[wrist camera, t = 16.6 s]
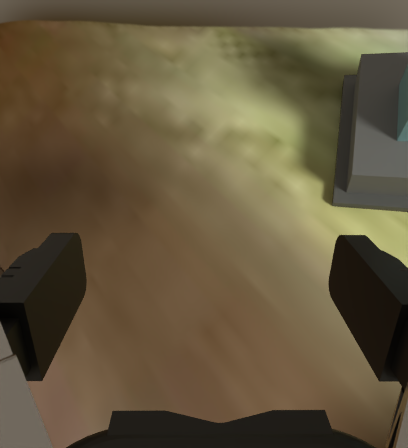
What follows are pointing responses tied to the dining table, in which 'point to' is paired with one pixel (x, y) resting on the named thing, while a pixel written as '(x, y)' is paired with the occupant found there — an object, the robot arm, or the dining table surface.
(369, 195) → the podium
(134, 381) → the dining table surface
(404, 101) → the carton
